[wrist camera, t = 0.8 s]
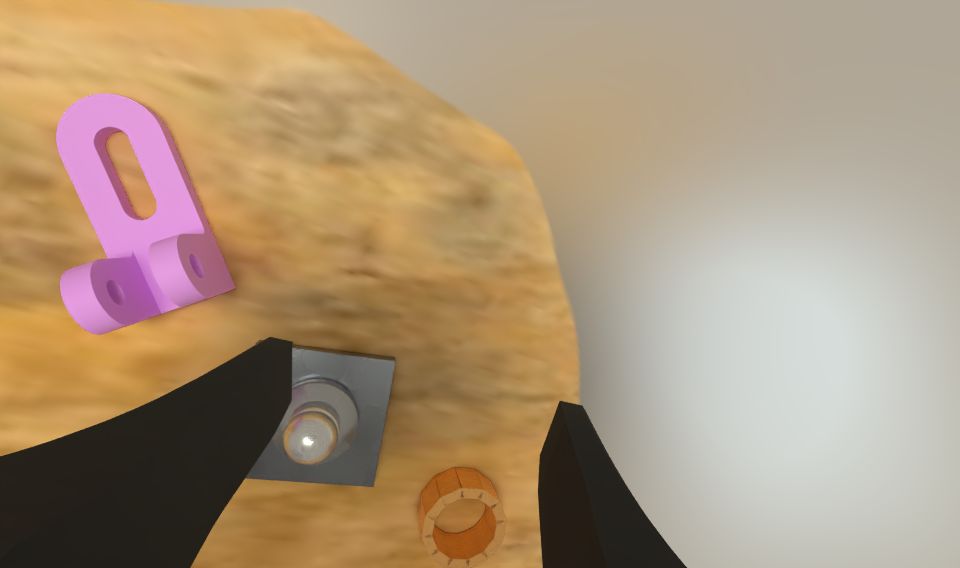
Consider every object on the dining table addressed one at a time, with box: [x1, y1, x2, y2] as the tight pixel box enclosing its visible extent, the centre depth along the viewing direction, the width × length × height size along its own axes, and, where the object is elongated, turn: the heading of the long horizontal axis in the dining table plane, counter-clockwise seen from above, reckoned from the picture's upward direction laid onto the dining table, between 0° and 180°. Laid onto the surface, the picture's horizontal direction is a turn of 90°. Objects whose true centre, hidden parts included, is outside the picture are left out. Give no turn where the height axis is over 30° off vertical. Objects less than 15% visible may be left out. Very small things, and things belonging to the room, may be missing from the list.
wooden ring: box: [418, 467, 507, 568], centre depth 34 cm, size 6×6×3 cm
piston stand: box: [245, 340, 396, 487], centre depth 30 cm, size 9×9×6 cm
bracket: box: [56, 94, 236, 335], centre depth 26 cm, size 13×6×7 cm, turn 19°
